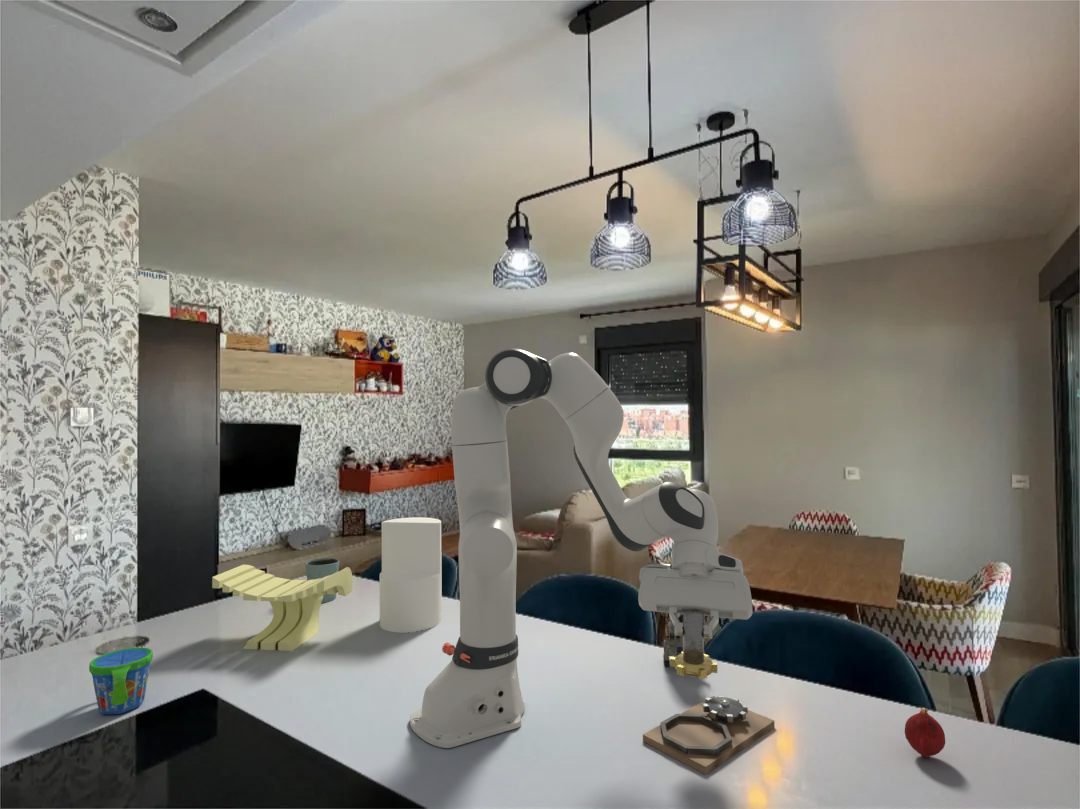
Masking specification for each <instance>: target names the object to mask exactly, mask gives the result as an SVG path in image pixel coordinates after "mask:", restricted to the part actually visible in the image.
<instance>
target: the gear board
mask: <svg viewBox="0 0 1080 809" xmlns="http://www.w3.org/2000/svg"><path fill="white" fill-rule="evenodd" d="M715 697H716V696H715V695H712V696H710V697H709V698H715ZM703 704H705V700H704V701H701V702H700V703H698V704H696V705H694V706H692V707H690V708H688V709H687V710H685V711H683V712H681V713H675V714H673V715H671V716H670V717H668V718H665V719H664V720H662V721H661V722H660V723H659V725H657V726H656V727H653V728H652V729H651V730H650V729H649V731H647V732H645V733H643V734H642V742H643V743H645V744H647V745H649V746H651V747H653V748H655V749H657V750H658V751H660V752H662V753H664V754H666V755H668V756H670V757H672V758H674V759H675V760H678V761H679V762H681V763H683V764H685V765H687V766H689V767H691V768H693V769H695V770H697V771H698V772H700V773H702V774H704V775H707V774H709V773H710V772H711V771H713V770H715V768H717V767H718V766H721V764H723V763H725V762H726V761H727V760H729V759H731V758H732V757H734V756H735V755H736V754H737V753H739V752H740V751H742V750H744V749H745V748H746V747H748V746H749V745H751V744H752V743H753V742H755V741H756V740H758V739H759V738H761V737H762V736H764V735H766V734H767V733H768V732H769V731H771V730H773V729H774V728H775V720H773V719H771V718H769V717H766V716H764V715H762V714H759V713H757V712H754V711H751V710H749V709H748V713H746V719H745V720H741V719H738V720H733V722H723V721H720V720H718V719H716V720H715V719H713V718H711V714H709V712H704V711H703Z"/></svg>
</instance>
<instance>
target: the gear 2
mask: <svg viewBox="0 0 1080 809" xmlns="http://www.w3.org/2000/svg"><path fill="white" fill-rule="evenodd" d="M704 701H705V704H703V711H704V712H709V714H711V718H713V719H715V720H716V719H718V720H720V721H723V722H733V720H738V719H741V720H745V719H746V713H748V710H749V708H748V706H747V704H742V703H741V702H740V699H738V698H736V697H734V698H730V697H724V695H721V694H720V695H719V694H718V695H717V696H715V698H710V697H709V696H708V697H706V698H705V699H704Z"/></svg>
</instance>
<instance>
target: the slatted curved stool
mask: <svg viewBox="0 0 1080 809" xmlns="http://www.w3.org/2000/svg"><path fill="white" fill-rule="evenodd" d="M211 580H212V581H211V584H212V585H211V587H212V588H211V589H222V593H232V597H242V601H251V602H252V601H256V602H257V601H259V600H260V602H269V603H270V605H271V607H272V611H273V617H272V620H271V621H270V622H269V624H268V625H267V626H266V627H265V628H263V630H261V631H260V632H259V633H257V634H256V635H255V636H253V637H252V638H250V639H249V640H247V641H246V643H245V646H244V647H243V648H242V649H243V650H259V649H260V650H262V651H263V650H264V651H276V650H277V651H281V652H282V651H284V652H293V651H294V650H296V649H297V648H298V647H300V646H301V645H302V644H304V643H305V642H306V641H308V640H309V639H311V638H312V637H314V636H315V635H317V633H318V632H319V628H320V615H319V614H320V609H321V605H322V603H321V602H322V599H323V595H325V594H336V595H339V596H342V597H346V596H348V595H350V594H351V593H353V573H352V570H351V568H350V567H348V566H346V567H345V568H343V569H341V570H338V572H336V573H334V574H332V575H329V576H326V577H324V578H322V579H321V578H319V579H314V580H308V581H307V580H306V579H300V580H299V579H292V580H291V579H289V578H284V577H283V578H282V577H277V576H275V575H274V574H271V573H266V571H265V570H261V569H259V568H256V566H253V565H251V564H241V565H239V566H236V567H234V568H231V569H229V570H226V571H224V572H222V573H219V574H216V575H214V576H212V579H211ZM337 593H338V594H337Z"/></svg>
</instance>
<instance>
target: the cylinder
mask: <svg viewBox="0 0 1080 809" xmlns="http://www.w3.org/2000/svg"><path fill="white" fill-rule="evenodd" d="M442 560H443V559H442V520H441V519H438V518H434V517H425V516H424V517H423V516H421V517H419V516H418V517H417V516H416V517H415V516H414V517H399V518H393V519H387V520H384V521H381V571H380V573H379V627H380V628H381V629H382V630H384V631H387V632H392V633H400V634H401V633H402V634H404V633H408V632H409V633H416V631H418V632H422V631H421V630H423V631H427V630H430V629H433V628H435V627H437V626H438V625H439V623H440V622H441V623H442V621H441V620H443V615H442V614H443V610H442V609H443V608H442V607H443V605H442V604H443V600H442V598H443V594H442V593H443V592H442V589H443V588H442V587H443V585H442V581H443V580H442V579H443V578H442V574H443V573H442V572H443V571H442V569H443V568H442V564H443V562H442ZM441 623H440V624H441ZM437 624H438V625H437ZM436 625H437V626H436ZM434 626H435V627H434ZM432 627H433V628H432ZM429 628H430V629H429ZM426 629H427V630H426Z"/></svg>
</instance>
